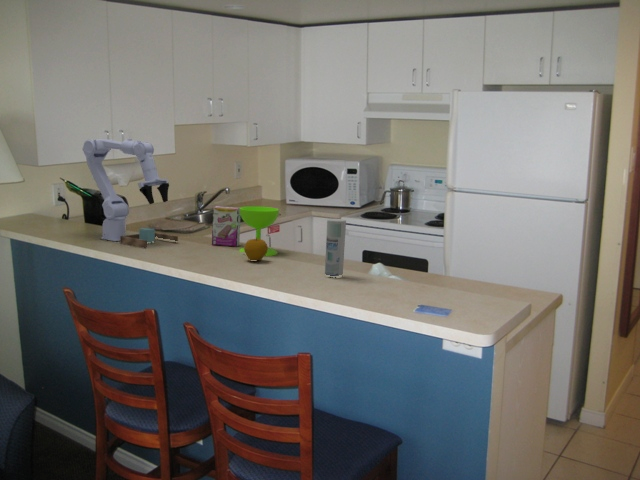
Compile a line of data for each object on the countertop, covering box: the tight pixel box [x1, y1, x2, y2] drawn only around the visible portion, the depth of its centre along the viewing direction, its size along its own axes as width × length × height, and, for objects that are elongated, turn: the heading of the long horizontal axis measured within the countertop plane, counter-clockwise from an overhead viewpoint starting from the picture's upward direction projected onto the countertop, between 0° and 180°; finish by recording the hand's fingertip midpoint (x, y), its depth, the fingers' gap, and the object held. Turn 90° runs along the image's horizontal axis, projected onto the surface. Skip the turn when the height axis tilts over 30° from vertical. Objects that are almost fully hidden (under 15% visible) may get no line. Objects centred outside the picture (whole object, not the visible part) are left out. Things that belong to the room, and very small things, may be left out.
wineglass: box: [238, 206, 280, 257], centre depth 270 cm, size 16×16×18 cm
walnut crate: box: [119, 232, 179, 249], centre depth 280 cm, size 15×18×3 cm
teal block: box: [138, 227, 156, 242], centre depth 280 cm, size 5×4×6 cm
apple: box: [243, 237, 269, 261], centre depth 252 cm, size 9×9×9 cm
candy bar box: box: [211, 205, 241, 248], centre depth 283 cm, size 11×5×16 cm, turn 84°
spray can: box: [324, 218, 347, 276], centre depth 231 cm, size 6×6×20 cm
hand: (158, 202), depth 273 cm, fingers open, 7 cm apart
